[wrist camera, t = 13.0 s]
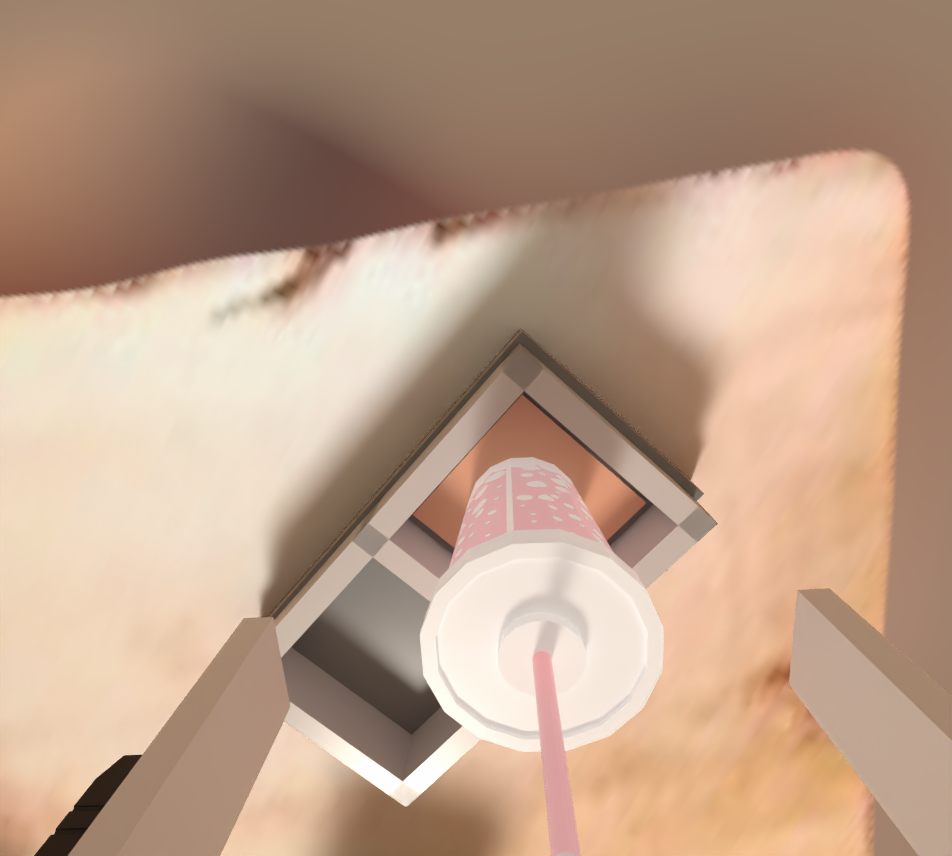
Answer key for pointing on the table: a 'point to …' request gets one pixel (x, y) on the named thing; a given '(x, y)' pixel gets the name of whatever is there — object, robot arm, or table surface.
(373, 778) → the divided tray
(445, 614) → the beverage cup
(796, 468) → the table surface
